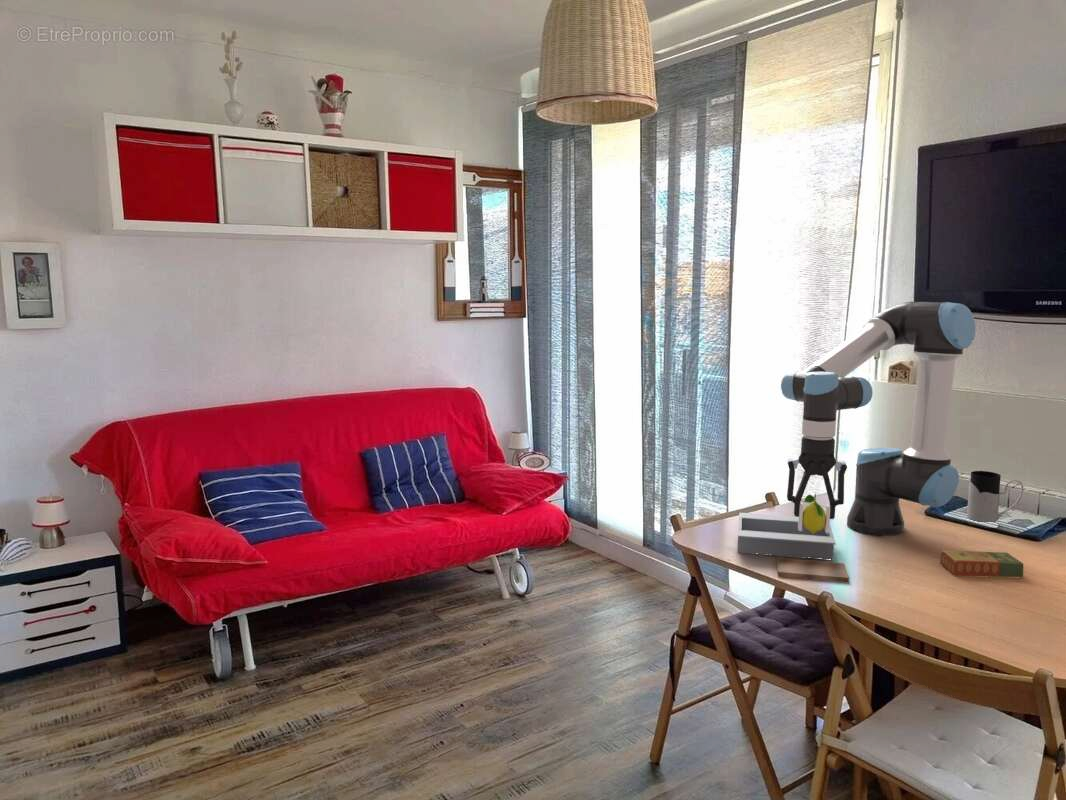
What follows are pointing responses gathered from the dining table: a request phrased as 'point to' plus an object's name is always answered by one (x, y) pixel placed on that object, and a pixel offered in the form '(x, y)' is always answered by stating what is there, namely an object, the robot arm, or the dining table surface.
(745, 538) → the gray open box
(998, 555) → the carton
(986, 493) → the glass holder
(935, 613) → the dining table surface
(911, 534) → the dining table surface
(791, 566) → the walnut board
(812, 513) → the lemon
